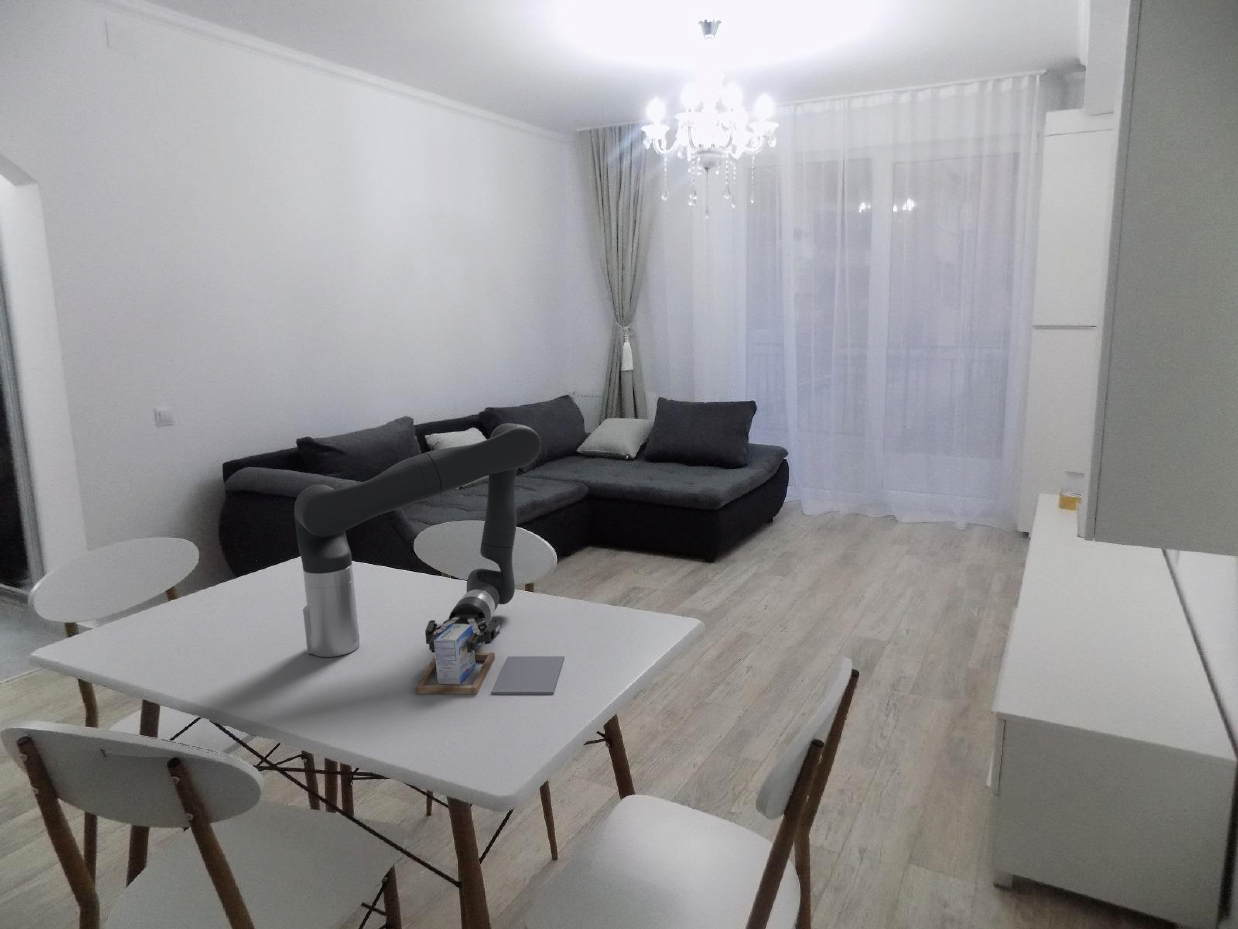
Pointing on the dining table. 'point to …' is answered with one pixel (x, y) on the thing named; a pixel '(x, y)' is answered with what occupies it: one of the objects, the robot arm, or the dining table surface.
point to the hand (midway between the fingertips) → (451, 647)
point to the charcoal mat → (529, 675)
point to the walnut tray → (455, 689)
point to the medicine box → (454, 654)
